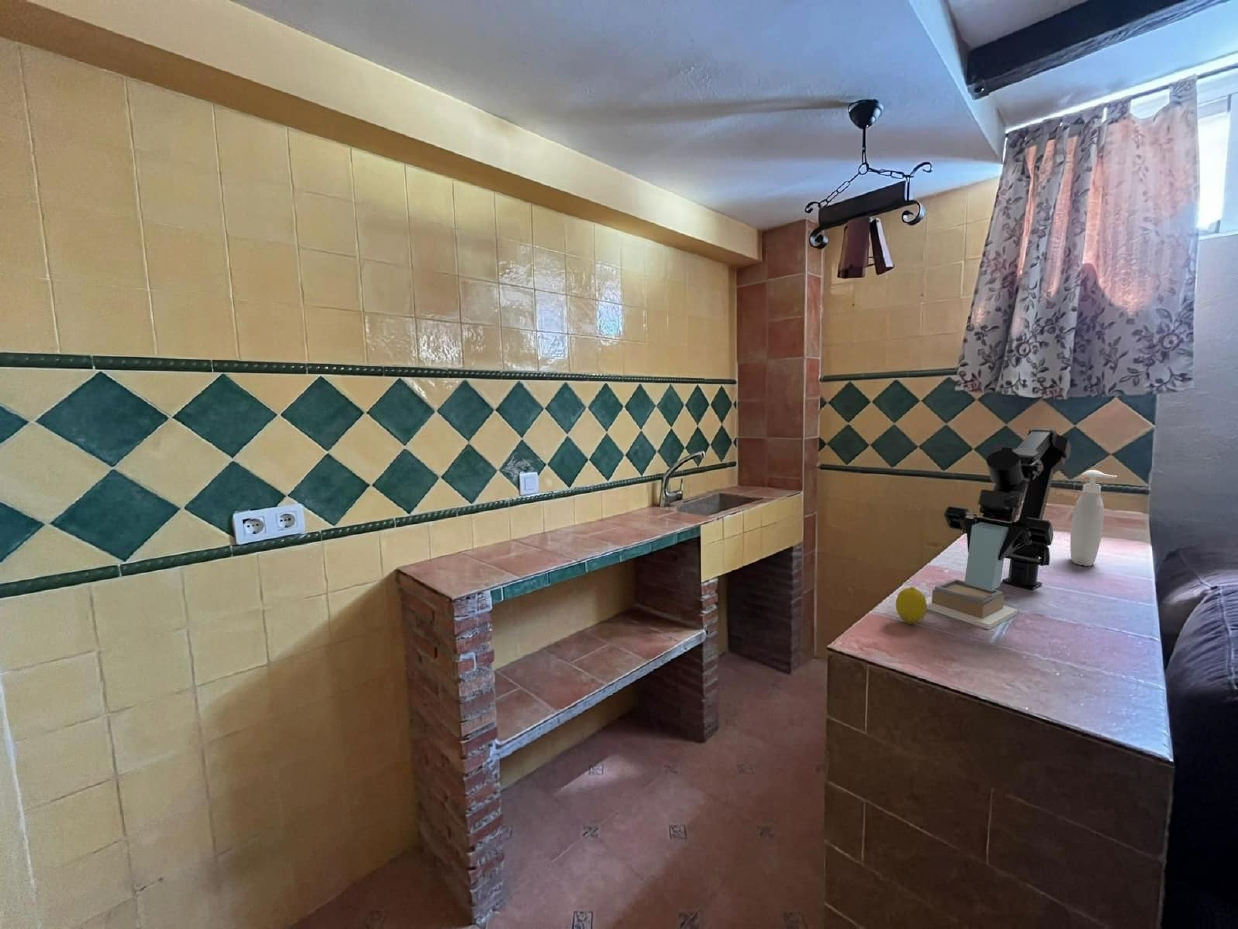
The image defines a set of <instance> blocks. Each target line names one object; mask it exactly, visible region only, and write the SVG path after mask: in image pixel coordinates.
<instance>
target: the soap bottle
mask: <svg viewBox="0 0 1238 929" xmlns="http://www.w3.org/2000/svg"><path fill="white" fill-rule="evenodd" d="M1081 477H1086V478H1089V482H1086V483H1085V484H1083V485H1082V492H1081V494H1080V496H1079V497H1078V499H1077V501H1076V502H1075V506H1074V509H1073V514H1072V520H1071V526H1070V533H1069V534H1070V537H1069V538H1070V541H1069V542H1070V544H1069V545H1070V546H1069V547H1070V559H1071V561H1072V562H1073V563H1074V564H1076V565H1077V564H1078V566H1081V565H1084V566H1083V567H1091V566H1092V565H1094V564H1095V562H1096V559H1097V555H1098V552H1099V548H1100V544H1101V540H1102V537H1103V528H1104V520H1105V519H1104V518H1105V508H1104V506H1105V505H1104V502H1103V499H1102V495H1101V491H1102V490H1101V488H1102V486H1101V485H1100V484H1099V483H1096V480H1097V479H1099V478H1100V479H1116V478H1118V475H1116V474H1115V475H1112V474H1106V473H1103V472H1102V471H1100V470H1096V469H1090V470H1089V469H1088V470H1086V471H1084V472H1083V473H1081Z"/></svg>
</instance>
